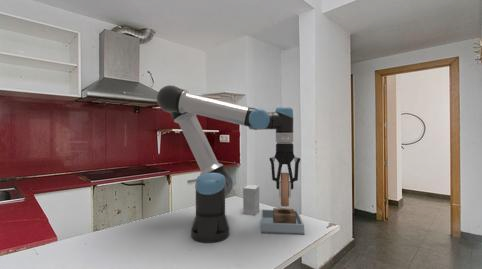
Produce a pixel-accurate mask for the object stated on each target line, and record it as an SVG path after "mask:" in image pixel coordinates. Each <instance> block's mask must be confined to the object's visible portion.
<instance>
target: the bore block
mask: <svg viewBox="0 0 482 269" xmlns="http://www.w3.org/2000/svg"><path fill="white" fill-rule="evenodd" d="M272 210H273V222H274V223H287V224H296V214H295V212H294V211H295V209H294V208H283V207H281V208H280V207H279V208H277V207H273V208H272Z"/></svg>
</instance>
